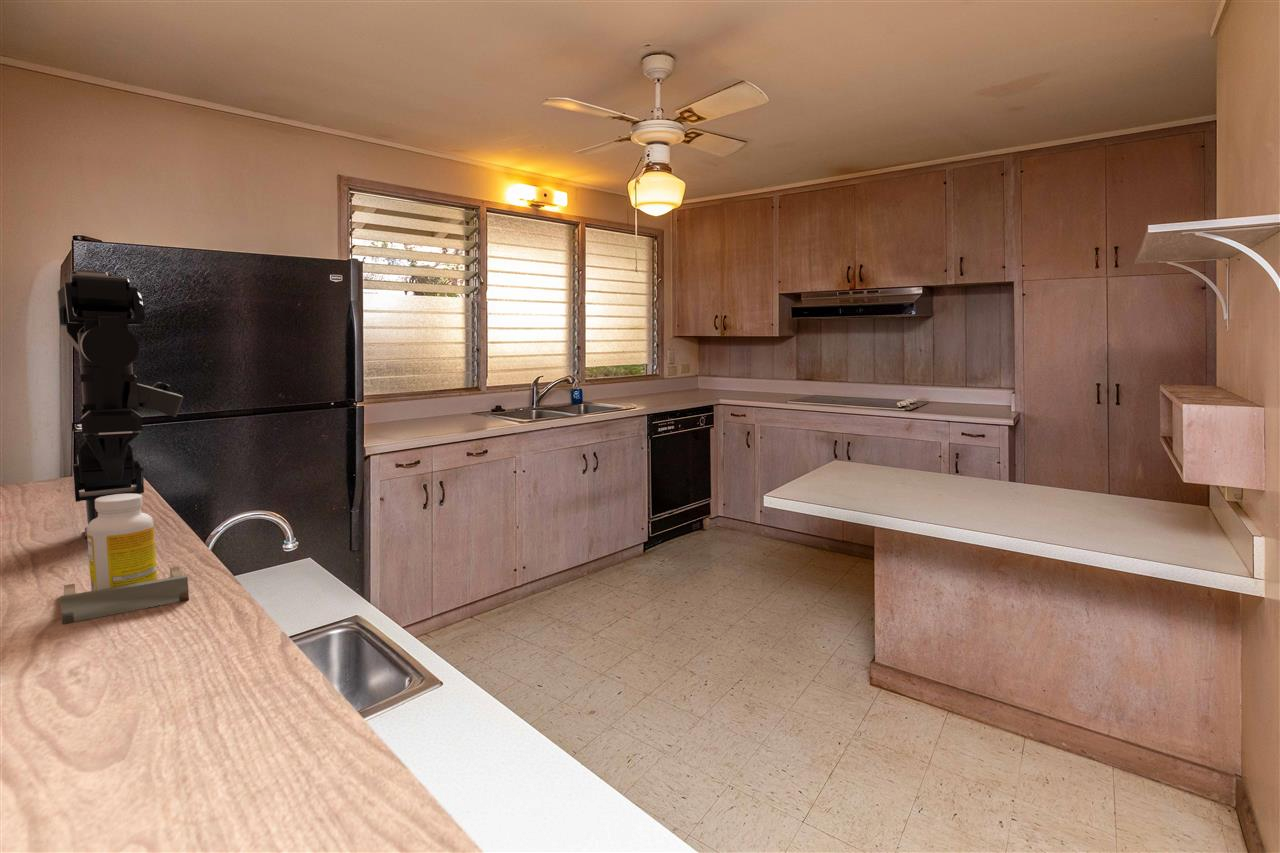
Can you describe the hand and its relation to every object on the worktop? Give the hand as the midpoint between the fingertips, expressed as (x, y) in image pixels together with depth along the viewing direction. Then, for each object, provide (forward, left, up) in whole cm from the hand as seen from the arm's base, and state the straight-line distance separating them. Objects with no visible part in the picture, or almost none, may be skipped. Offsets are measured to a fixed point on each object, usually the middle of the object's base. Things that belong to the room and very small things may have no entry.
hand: (114, 475), depth 93 cm
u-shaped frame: (+16, 0, -13) cm, 21 cm away
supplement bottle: (+15, 0, -13) cm, 20 cm away
